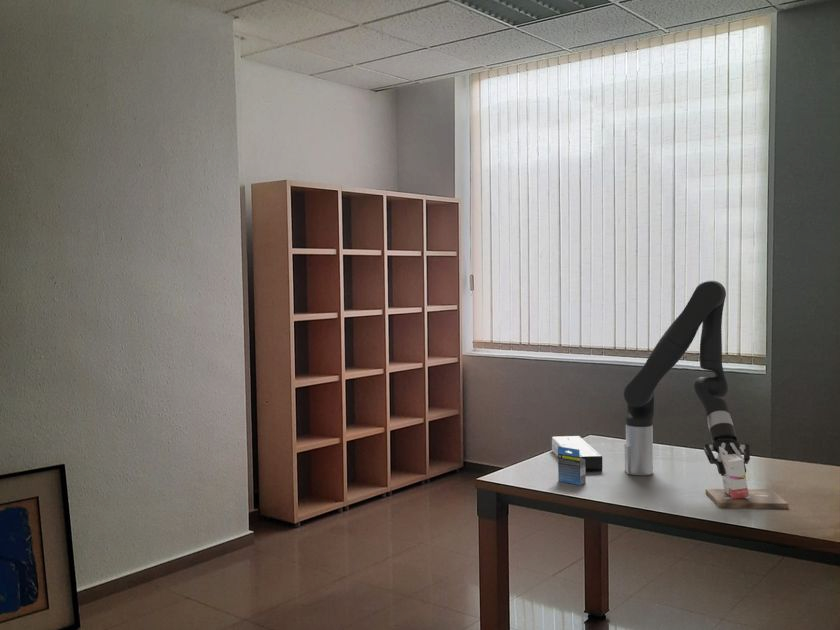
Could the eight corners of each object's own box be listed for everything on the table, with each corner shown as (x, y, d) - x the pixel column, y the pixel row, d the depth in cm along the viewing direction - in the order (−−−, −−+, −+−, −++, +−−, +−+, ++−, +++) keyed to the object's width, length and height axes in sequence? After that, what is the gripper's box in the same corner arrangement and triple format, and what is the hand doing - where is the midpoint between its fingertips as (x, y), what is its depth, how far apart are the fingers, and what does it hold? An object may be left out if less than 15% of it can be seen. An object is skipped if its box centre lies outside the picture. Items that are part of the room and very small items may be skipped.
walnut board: (719, 508, 231) (719, 502, 231) (705, 493, 246) (705, 488, 246) (788, 508, 229) (788, 503, 229) (770, 493, 244) (770, 488, 244)
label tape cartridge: (586, 483, 261) (585, 447, 260) (580, 486, 258) (579, 449, 257) (563, 479, 267) (563, 444, 266) (557, 481, 264) (557, 446, 263)
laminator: (552, 451, 308) (551, 436, 308) (582, 450, 309) (582, 435, 308) (571, 474, 275) (571, 456, 274) (605, 473, 275) (605, 455, 275)
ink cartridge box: (749, 497, 234) (742, 450, 233) (733, 499, 234) (726, 452, 233) (739, 488, 242) (732, 443, 241) (723, 491, 243) (717, 445, 242)
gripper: (700, 422, 246) (711, 468, 235) (747, 421, 245) (760, 468, 234) (696, 434, 252) (707, 480, 241) (741, 434, 251) (754, 480, 239)
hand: (733, 474), depth 237 cm, fingers closed on ink cartridge box, 5 cm apart
